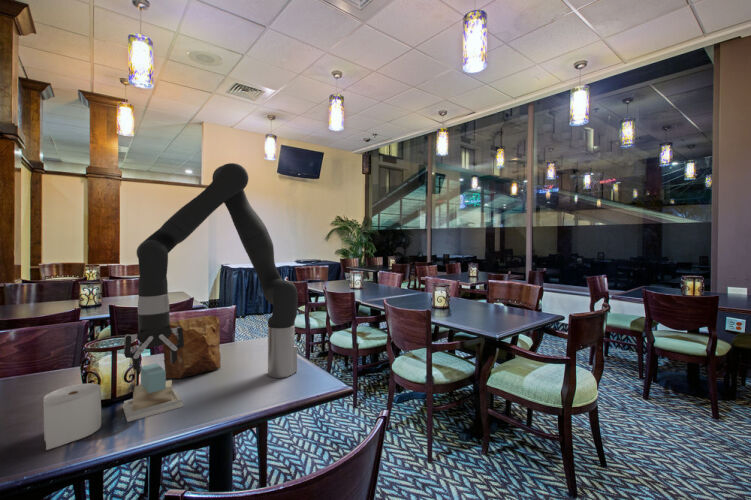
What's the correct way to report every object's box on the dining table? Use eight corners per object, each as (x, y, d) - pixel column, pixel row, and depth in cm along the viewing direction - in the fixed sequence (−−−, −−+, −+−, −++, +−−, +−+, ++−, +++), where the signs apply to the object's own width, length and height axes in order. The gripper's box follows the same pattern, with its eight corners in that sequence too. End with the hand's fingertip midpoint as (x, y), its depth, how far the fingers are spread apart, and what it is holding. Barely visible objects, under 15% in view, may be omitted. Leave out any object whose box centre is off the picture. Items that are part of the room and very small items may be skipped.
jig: (175, 394, 107) (175, 388, 106) (183, 406, 99) (183, 399, 99) (123, 407, 98) (123, 400, 98) (127, 421, 90) (127, 414, 90)
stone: (219, 364, 133) (218, 312, 132) (223, 373, 124) (223, 317, 123) (162, 373, 123) (161, 317, 123) (162, 384, 114) (161, 323, 113)
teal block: (156, 379, 103) (156, 363, 103) (165, 388, 97) (165, 371, 97) (140, 383, 100) (140, 366, 100) (149, 393, 94) (148, 375, 94)
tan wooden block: (172, 396, 103) (171, 380, 103) (171, 403, 99) (171, 386, 98) (135, 403, 98) (134, 386, 98) (133, 411, 94) (133, 393, 94)
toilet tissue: (100, 416, 93) (99, 379, 93) (103, 435, 84) (102, 395, 84) (45, 430, 86) (44, 390, 86) (42, 453, 77) (41, 408, 77)
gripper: (124, 316, 91) (126, 377, 92) (185, 309, 100) (186, 364, 101) (121, 312, 97) (123, 369, 97) (179, 305, 106) (180, 357, 107)
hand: (155, 366), depth 99 cm, fingers open, 8 cm apart
